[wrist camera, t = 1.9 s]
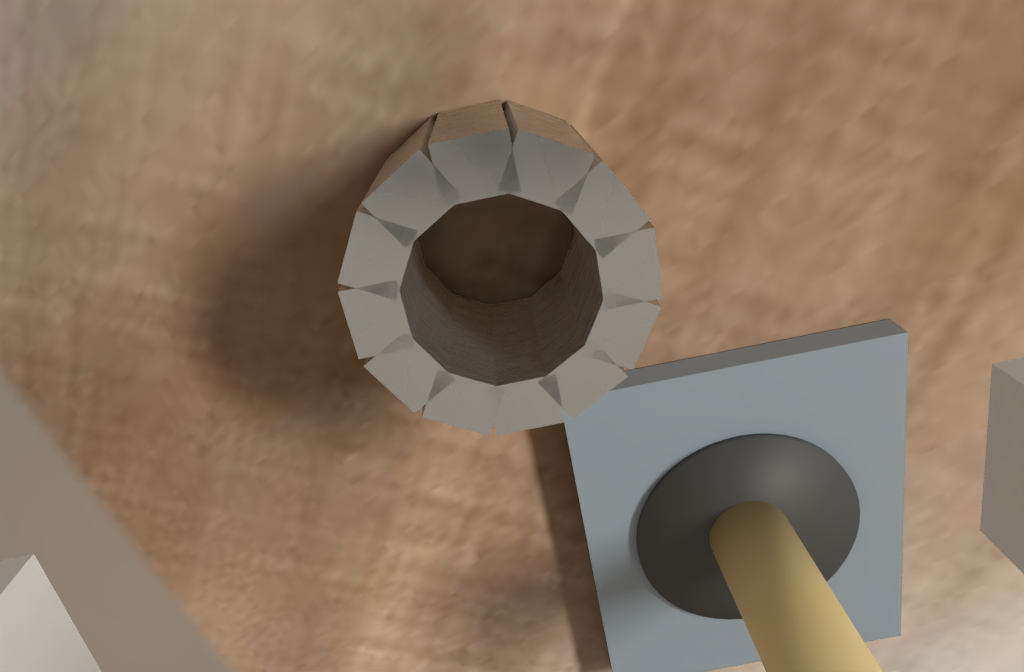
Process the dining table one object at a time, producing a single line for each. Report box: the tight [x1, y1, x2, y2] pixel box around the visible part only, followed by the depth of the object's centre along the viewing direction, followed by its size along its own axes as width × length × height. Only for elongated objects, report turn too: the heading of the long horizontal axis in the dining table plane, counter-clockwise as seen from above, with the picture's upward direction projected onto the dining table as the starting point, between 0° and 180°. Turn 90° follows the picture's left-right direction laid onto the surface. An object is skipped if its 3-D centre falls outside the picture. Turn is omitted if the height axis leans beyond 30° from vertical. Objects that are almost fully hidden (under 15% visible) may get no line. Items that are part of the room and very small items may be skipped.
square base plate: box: [563, 319, 908, 672], centre depth 25 cm, size 14×12×10 cm
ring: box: [338, 100, 663, 436], centre depth 21 cm, size 8×8×6 cm
